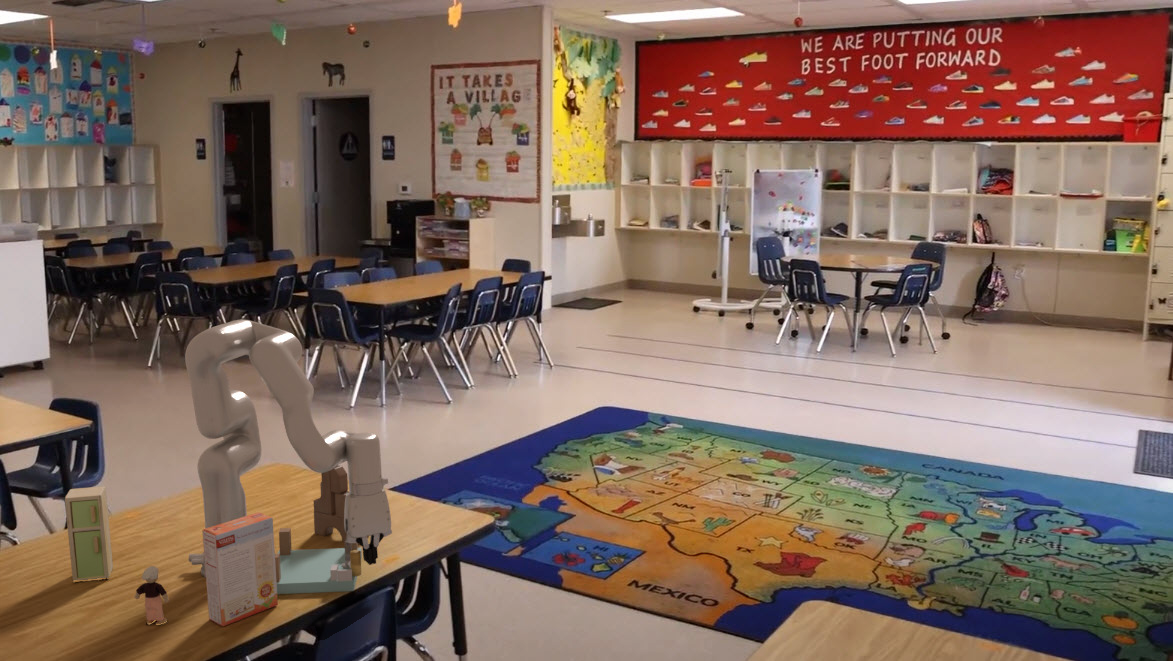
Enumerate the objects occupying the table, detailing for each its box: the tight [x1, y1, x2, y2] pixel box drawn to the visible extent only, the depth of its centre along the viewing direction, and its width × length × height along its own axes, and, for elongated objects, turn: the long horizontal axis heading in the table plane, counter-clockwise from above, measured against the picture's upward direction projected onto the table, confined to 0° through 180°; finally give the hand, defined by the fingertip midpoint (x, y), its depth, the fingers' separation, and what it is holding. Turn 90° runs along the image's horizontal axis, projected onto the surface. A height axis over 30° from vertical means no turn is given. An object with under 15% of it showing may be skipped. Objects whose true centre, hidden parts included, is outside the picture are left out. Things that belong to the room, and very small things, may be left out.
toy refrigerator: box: [64, 486, 114, 582], centre depth 248 cm, size 8×7×21 cm
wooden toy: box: [313, 464, 370, 543], centre depth 276 cm, size 16×7×25 cm, turn 58°
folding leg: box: [344, 541, 362, 577], centre depth 248 cm, size 9×2×6 cm, turn 26°
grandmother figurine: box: [134, 565, 170, 624], centre depth 226 cm, size 8×4×13 cm, turn 92°
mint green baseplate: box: [275, 527, 363, 595], centre depth 252 cm, size 20×20×8 cm
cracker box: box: [202, 511, 279, 627], centre depth 231 cm, size 14×6×21 cm, turn 140°
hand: (370, 562), depth 247 cm, fingers closed
